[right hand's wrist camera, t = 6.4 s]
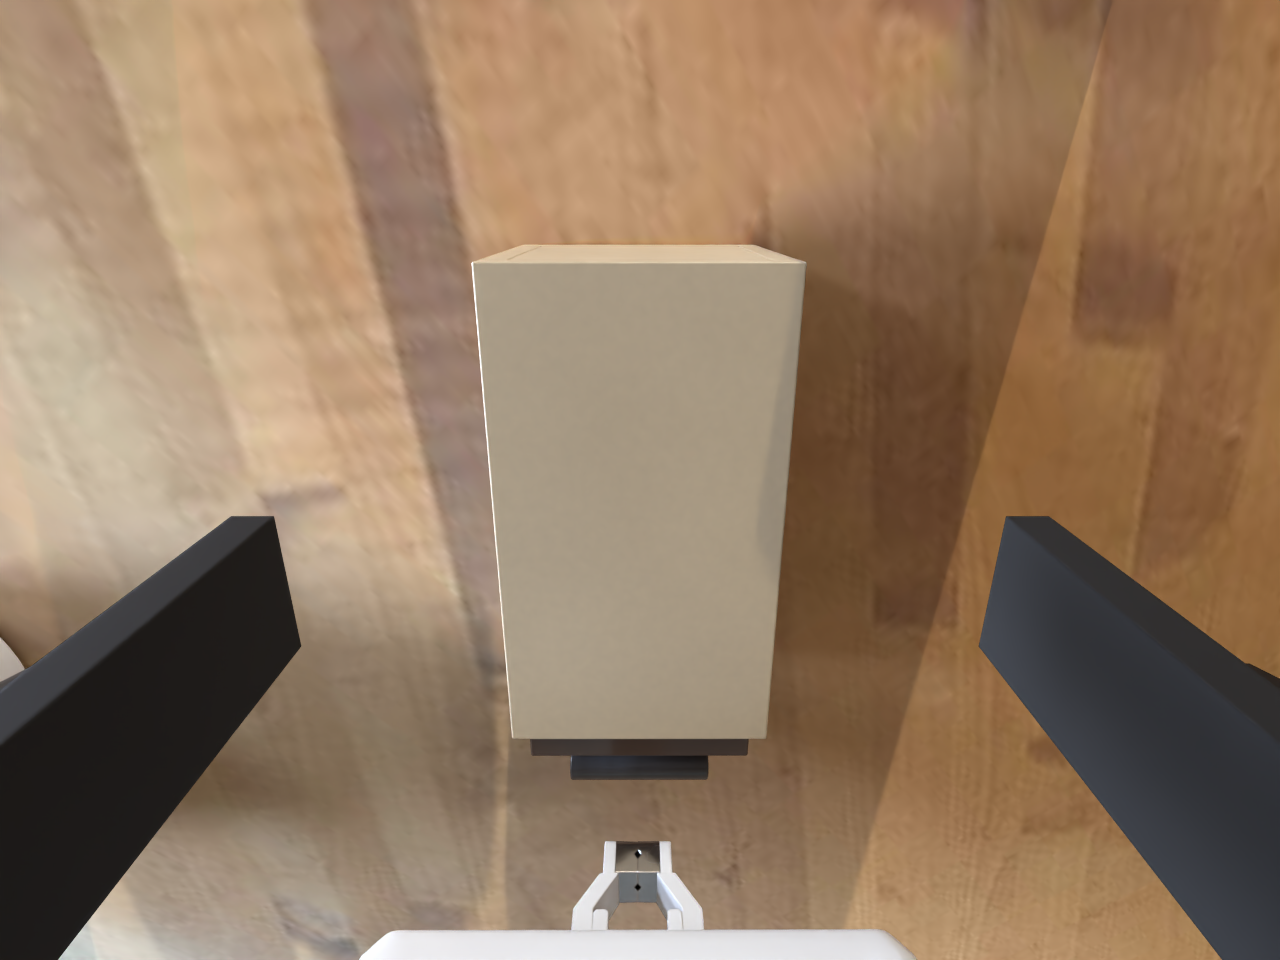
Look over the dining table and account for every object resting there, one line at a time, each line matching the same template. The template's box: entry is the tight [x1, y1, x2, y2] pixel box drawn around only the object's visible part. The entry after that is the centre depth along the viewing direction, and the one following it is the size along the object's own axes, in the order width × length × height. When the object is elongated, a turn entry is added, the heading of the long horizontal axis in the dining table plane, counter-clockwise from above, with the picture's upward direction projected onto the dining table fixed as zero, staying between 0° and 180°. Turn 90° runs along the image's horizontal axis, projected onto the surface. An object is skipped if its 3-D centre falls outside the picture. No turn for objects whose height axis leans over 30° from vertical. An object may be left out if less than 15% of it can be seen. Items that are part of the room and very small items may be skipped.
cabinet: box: [472, 245, 807, 739], centre depth 33 cm, size 20×11×11 cm, turn 0°
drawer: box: [530, 739, 748, 780], centre depth 34 cm, size 25×10×9 cm, turn 0°
